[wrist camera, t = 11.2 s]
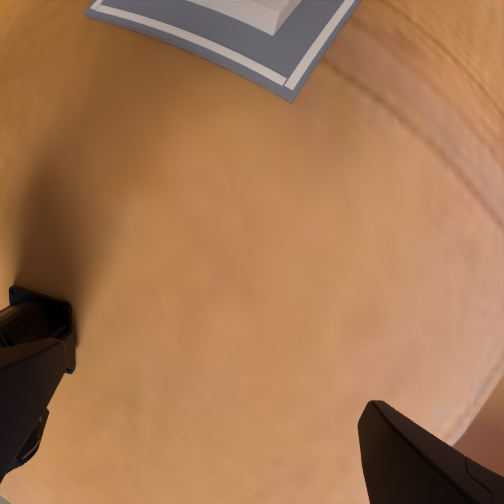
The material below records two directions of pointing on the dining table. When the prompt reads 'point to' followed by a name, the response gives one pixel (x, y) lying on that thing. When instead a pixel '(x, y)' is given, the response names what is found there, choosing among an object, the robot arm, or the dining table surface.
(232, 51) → the base
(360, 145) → the dining table surface
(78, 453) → the dining table surface
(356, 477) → the dining table surface
